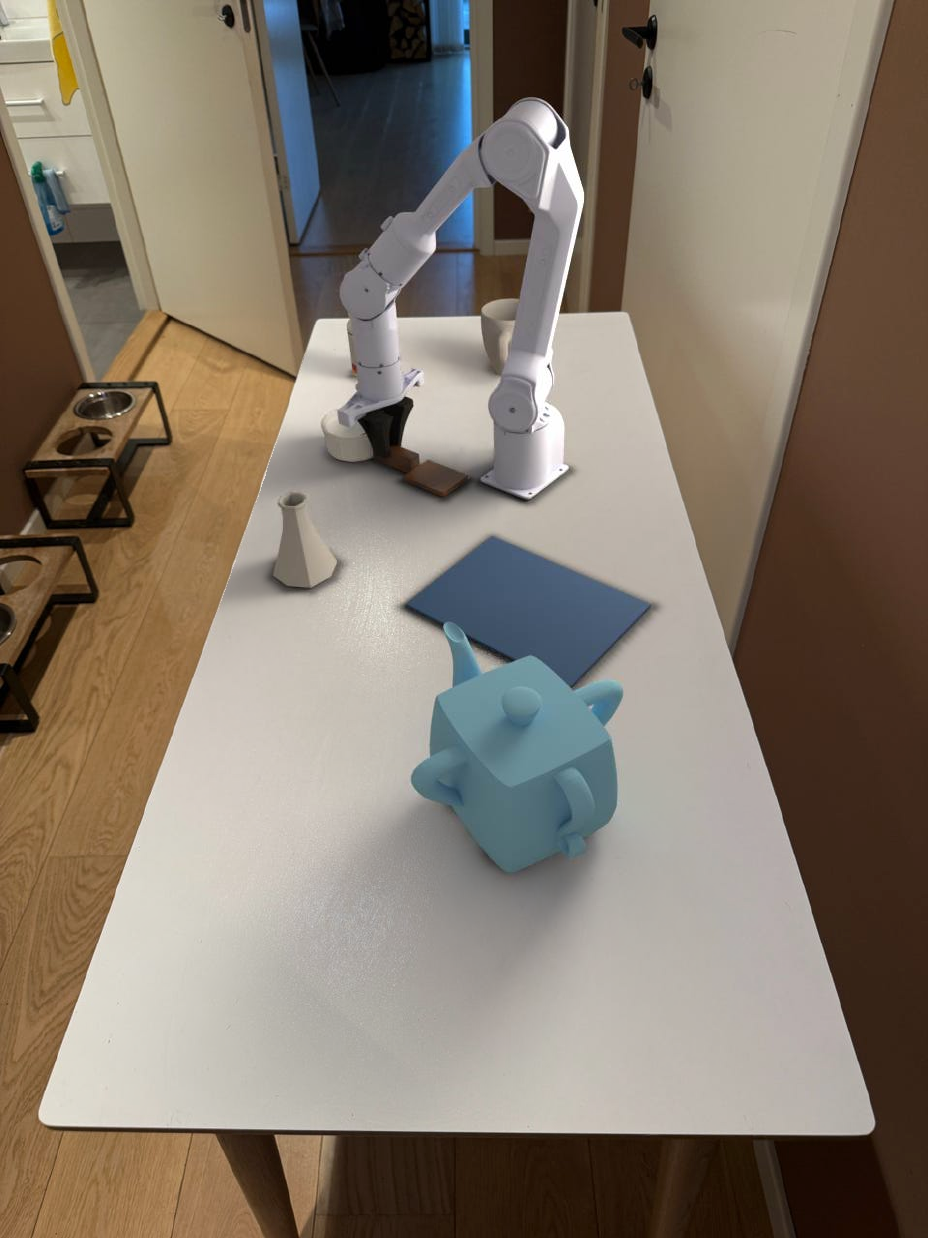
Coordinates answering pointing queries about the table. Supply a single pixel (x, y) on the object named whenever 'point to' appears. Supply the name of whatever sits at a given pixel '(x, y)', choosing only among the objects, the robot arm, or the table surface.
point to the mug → (498, 330)
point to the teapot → (521, 757)
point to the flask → (301, 546)
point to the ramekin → (345, 439)
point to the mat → (530, 608)
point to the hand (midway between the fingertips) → (387, 451)
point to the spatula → (423, 471)
